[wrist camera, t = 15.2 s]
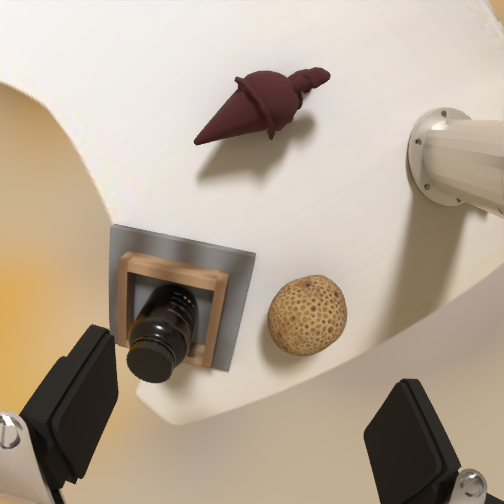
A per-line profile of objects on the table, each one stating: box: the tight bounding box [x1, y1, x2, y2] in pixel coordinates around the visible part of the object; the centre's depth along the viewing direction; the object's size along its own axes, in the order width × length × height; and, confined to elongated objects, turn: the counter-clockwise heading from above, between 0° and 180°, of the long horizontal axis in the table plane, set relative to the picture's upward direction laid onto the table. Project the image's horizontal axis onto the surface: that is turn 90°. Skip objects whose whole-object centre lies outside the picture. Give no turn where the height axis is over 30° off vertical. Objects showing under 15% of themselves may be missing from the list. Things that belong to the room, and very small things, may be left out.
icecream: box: [194, 67, 331, 145], centre depth 29 cm, size 7×7×15 cm
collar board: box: [109, 224, 256, 371], centre depth 38 cm, size 18×18×4 cm
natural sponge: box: [268, 275, 347, 356], centre depth 35 cm, size 9×9×10 cm
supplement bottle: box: [126, 285, 199, 383], centre depth 34 cm, size 7×7×12 cm
